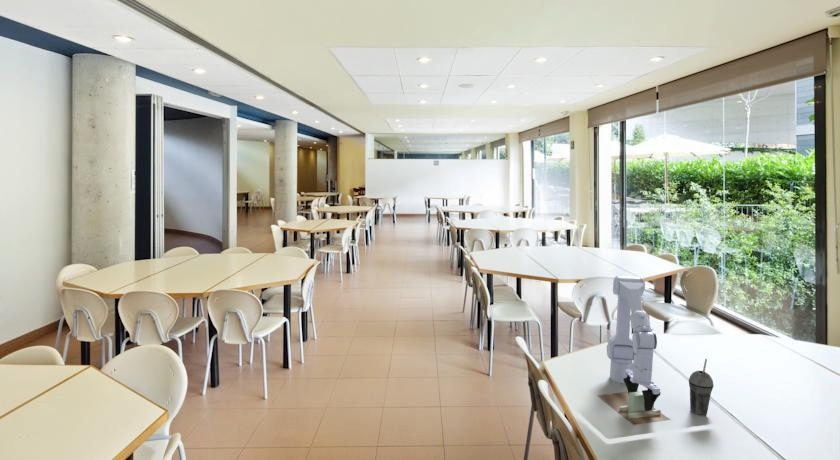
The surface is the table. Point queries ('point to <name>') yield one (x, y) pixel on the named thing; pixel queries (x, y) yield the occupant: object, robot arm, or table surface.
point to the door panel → (636, 402)
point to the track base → (621, 406)
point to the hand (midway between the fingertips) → (640, 404)
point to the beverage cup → (700, 391)
